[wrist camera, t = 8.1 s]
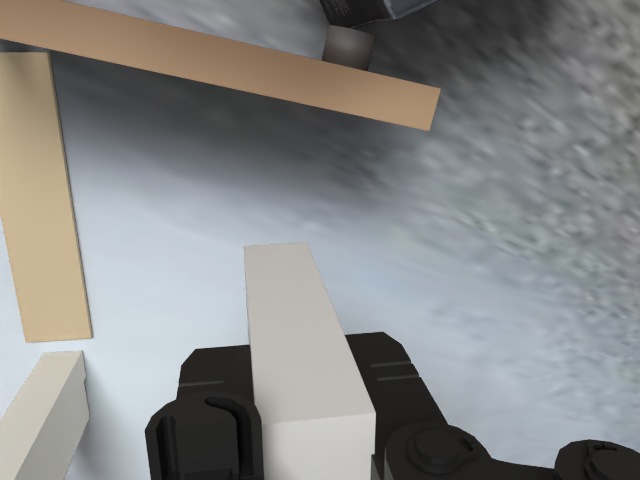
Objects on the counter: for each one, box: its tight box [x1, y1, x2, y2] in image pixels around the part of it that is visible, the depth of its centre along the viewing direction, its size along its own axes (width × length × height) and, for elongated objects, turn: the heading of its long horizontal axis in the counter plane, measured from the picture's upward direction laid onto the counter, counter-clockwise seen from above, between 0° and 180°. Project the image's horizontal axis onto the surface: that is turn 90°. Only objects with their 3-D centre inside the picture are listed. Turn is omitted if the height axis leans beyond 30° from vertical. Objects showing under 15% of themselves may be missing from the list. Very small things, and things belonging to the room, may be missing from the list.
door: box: [0, 0, 441, 131], centre depth 19 cm, size 2×14×10 cm, turn 77°
